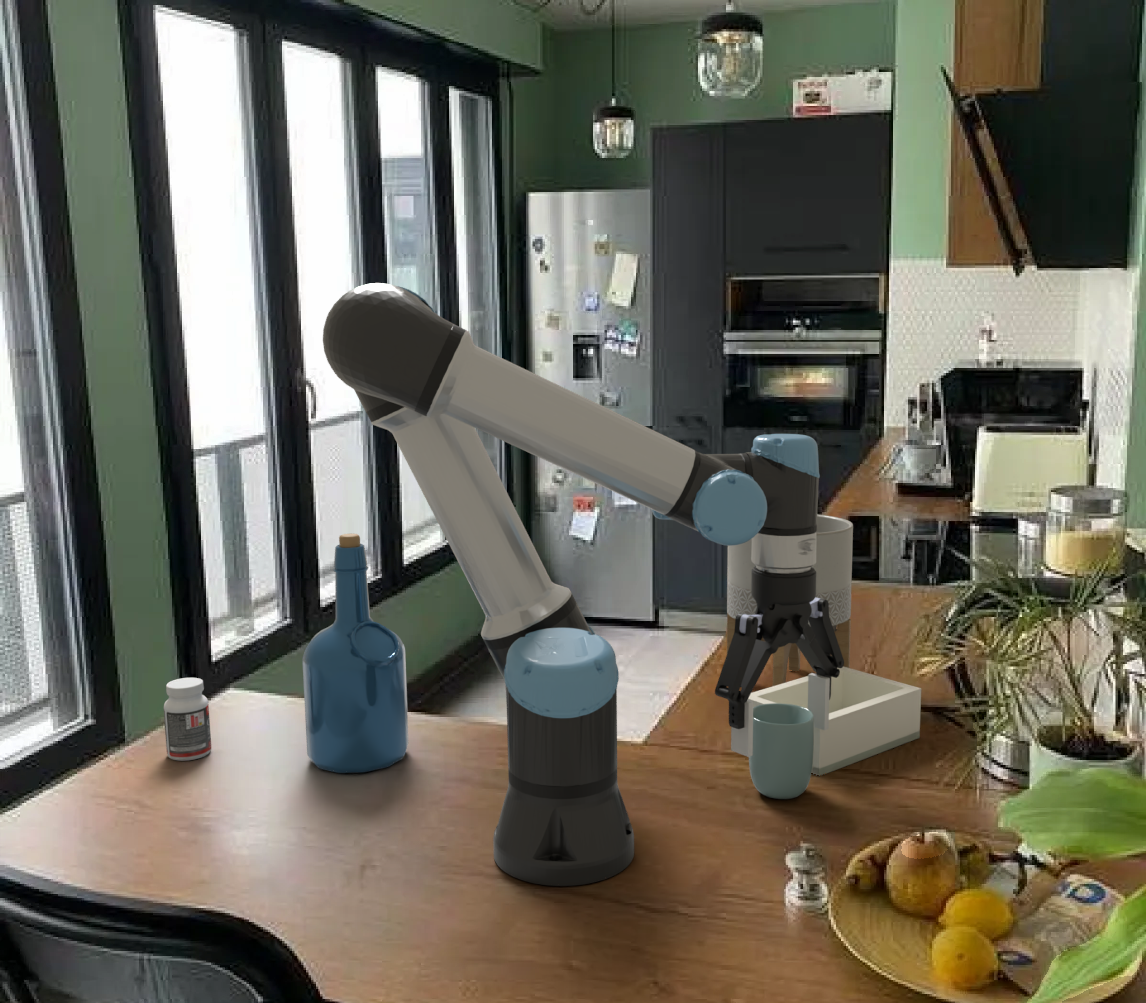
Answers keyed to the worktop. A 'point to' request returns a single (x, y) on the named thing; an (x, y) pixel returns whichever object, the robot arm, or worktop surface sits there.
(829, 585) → the planter
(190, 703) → the pill bottle
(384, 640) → the wine bottle
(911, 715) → the open box
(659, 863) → the worktop surface
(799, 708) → the cup
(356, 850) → the worktop surface
